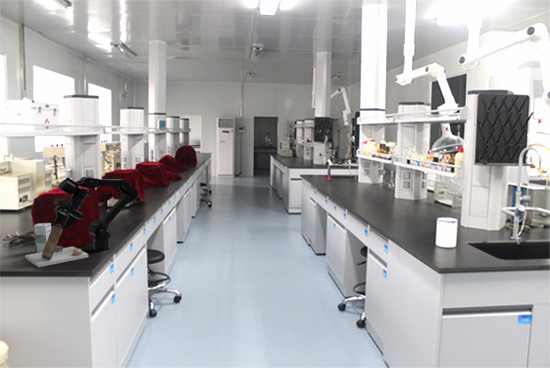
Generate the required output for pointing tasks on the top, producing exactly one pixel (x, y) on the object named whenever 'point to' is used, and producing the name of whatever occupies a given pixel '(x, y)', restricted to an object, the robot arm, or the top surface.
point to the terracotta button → (76, 251)
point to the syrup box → (41, 235)
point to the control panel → (55, 257)
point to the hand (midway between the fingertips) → (58, 227)
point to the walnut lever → (52, 242)
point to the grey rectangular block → (58, 248)
